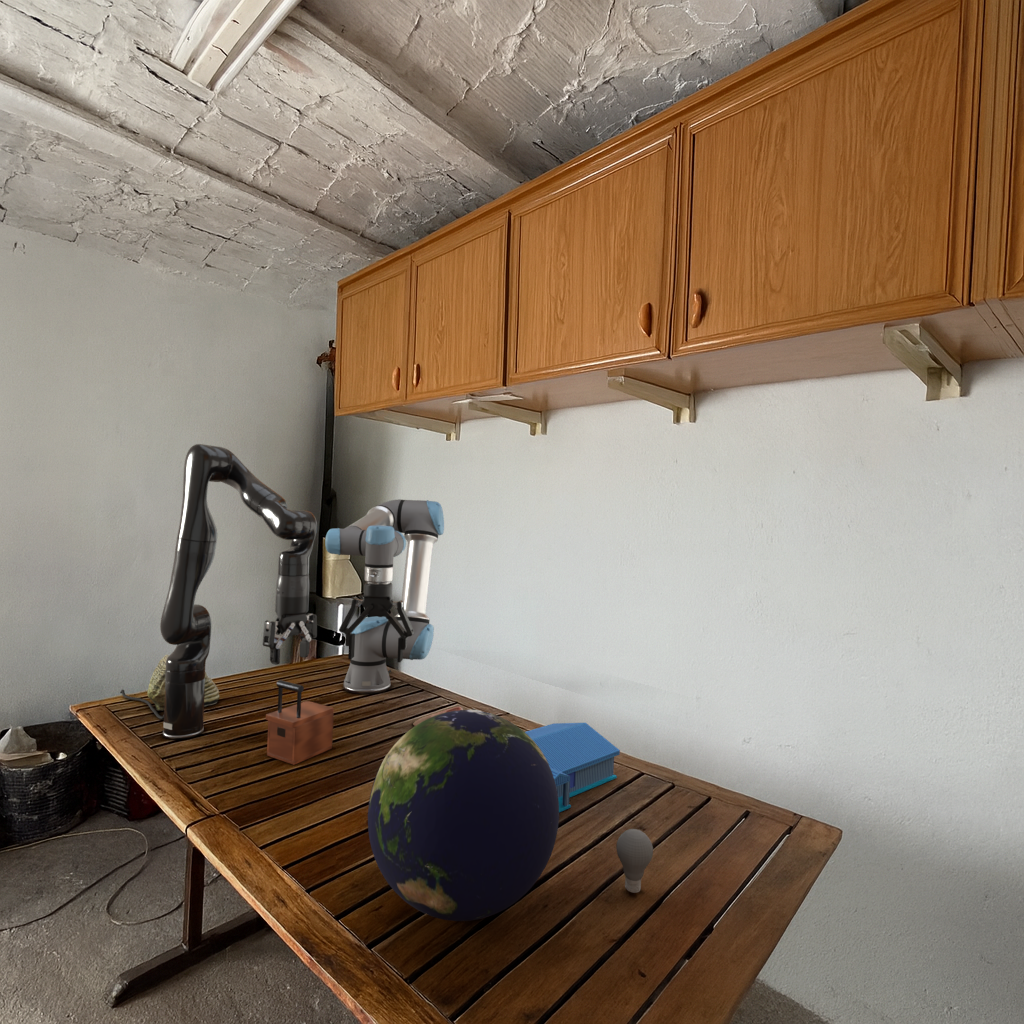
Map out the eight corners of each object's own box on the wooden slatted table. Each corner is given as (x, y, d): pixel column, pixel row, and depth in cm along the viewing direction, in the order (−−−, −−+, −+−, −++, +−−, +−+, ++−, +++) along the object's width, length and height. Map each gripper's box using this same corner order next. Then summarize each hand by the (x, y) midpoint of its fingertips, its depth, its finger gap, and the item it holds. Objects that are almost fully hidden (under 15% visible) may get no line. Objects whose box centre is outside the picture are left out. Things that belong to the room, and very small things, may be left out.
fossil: (144, 707, 182) (145, 655, 182) (212, 696, 194) (213, 647, 194) (151, 716, 175) (153, 662, 175) (221, 703, 188) (223, 653, 188)
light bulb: (610, 879, 108) (613, 822, 108) (644, 879, 109) (647, 822, 109) (619, 902, 102) (622, 840, 102) (655, 901, 103) (658, 840, 103)
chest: (294, 765, 149) (295, 727, 149) (266, 755, 153) (268, 718, 153) (332, 748, 159) (333, 713, 159) (305, 740, 164) (307, 705, 164)
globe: (322, 932, 92) (330, 728, 92) (425, 835, 120) (432, 678, 119) (512, 1001, 81) (522, 769, 81) (577, 877, 109) (585, 703, 108)
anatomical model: (409, 713, 175) (423, 701, 186) (408, 727, 175) (423, 714, 186) (455, 719, 172) (467, 706, 184) (455, 733, 172) (466, 719, 184)
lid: (292, 728, 148) (294, 689, 148) (265, 719, 152) (266, 682, 152) (333, 712, 159) (335, 676, 159) (307, 705, 164) (308, 670, 164)
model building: (501, 837, 120) (504, 785, 120) (427, 790, 139) (429, 744, 138) (628, 782, 147) (630, 739, 147) (552, 748, 165) (553, 710, 165)
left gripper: (279, 598, 144) (276, 669, 144) (326, 591, 156) (323, 657, 156) (257, 594, 147) (254, 663, 148) (304, 588, 160) (302, 652, 160)
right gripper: (328, 581, 170) (326, 660, 170) (420, 586, 168) (417, 666, 168) (338, 578, 177) (335, 653, 178) (426, 582, 175) (423, 658, 176)
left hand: (289, 660), depth 152 cm, fingers open, 8 cm apart
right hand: (375, 659), depth 173 cm, fingers open, 13 cm apart
